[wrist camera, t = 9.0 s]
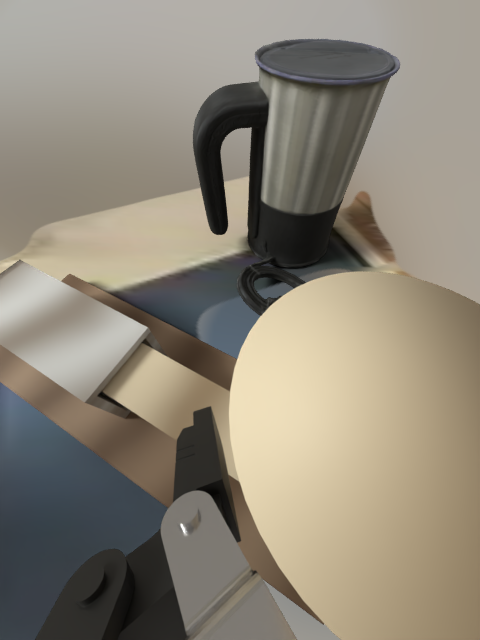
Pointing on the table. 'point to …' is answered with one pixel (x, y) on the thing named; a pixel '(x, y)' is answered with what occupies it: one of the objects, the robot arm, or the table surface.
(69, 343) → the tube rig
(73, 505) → the table surface
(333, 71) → the milk frother
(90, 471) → the table surface
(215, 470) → the robot arm
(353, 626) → the cream l-shaped piece
